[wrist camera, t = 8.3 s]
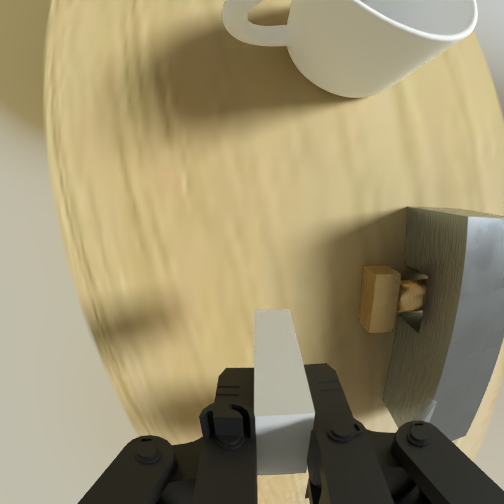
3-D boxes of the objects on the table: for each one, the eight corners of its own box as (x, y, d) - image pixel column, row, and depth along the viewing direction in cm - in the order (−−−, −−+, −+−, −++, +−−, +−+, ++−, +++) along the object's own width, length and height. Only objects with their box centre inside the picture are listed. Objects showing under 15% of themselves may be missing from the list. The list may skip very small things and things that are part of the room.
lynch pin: (358, 319, 21) (369, 333, 18) (363, 265, 20) (376, 274, 18) (477, 306, 21) (493, 316, 18) (485, 261, 20) (502, 268, 18)
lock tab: (337, 500, 9) (350, 508, 8) (427, 397, 14) (437, 401, 14) (321, 541, 10) (330, 547, 9) (406, 451, 15) (415, 455, 15)
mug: (237, 110, 18) (221, 36, 8) (222, 11, 16) (202, -88, 6) (407, 101, 18) (500, 57, 8) (380, 8, 16) (438, -66, 6)
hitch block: (407, 206, 19) (468, 216, 12) (459, 208, 19) (523, 219, 12) (382, 399, 22) (412, 453, 15) (429, 389, 22) (465, 435, 15)
